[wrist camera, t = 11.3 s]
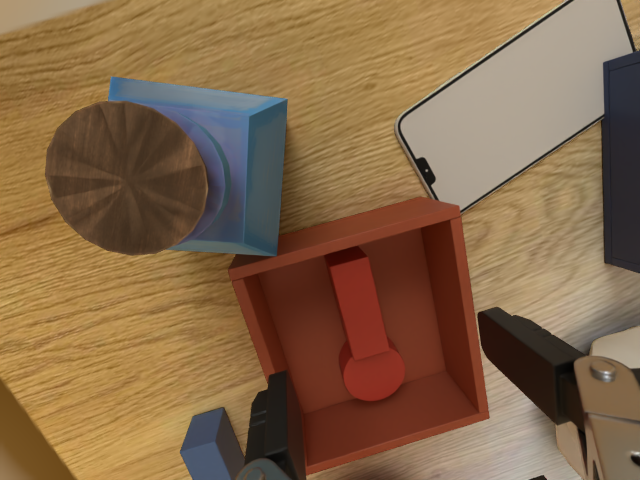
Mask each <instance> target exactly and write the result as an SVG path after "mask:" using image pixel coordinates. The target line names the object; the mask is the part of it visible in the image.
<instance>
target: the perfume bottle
mask: <svg viewBox="0 0 640 480" xmlns="http://www.w3.org/2000/svg"><path fill="white" fill-rule="evenodd" d="M286 122H287V99H284V98H276V97H268V96H260V95H252V94H244V93H237V92H229V91H221V90H213V89H205V88H197V87H189V86H181V85H173V84H165V83H158V82H150V81H142V80H134V79H126V78H118V77H111V81H110V89H109V96H108V101H105V102H97V103H95V104H92V105H90V106H87V107H85V108H82V109H80V110H77V111H75V112H74V113H73V114H72V115H71V116H70V117H69V118H68V119H67V120H66V121H65V122H63V123H62V124H61V125H60V126H59V127H58V128H57V130H56V132H55V134H54V136H53V138H52V141H51V143H50V145H49V147H48V149H47V156H46V169H45V177H46V181H47V184H48V188H49V192H50V196H51V200H52V201H53V203H54V204H55V206H56V208H57V209H58V211H59V212H60V214H61V216H62V217H63V219H64V220H65V222H66V223H67V224H68V225H70V226H71V227H72V228H73V229H74V230H75V231H76V232H77V233H78V234H80V235H81V236H82V237H83V238H84V239H85V240H87V241H89V242H91V243H93V244H95V245H97V246H99V247H101V248H103V249H105V250H107V251H112V252H117V253H122V254H127V255H132V256H133V255H145V254H156V253H158V252H161V251H163V250H165V249H166V250H182V251H198V252H214V253H230V254H246V255H262V256H277V247H278V236H279V223H280V209H281V195H282V180H283V166H284V151H285V137H286Z"/></svg>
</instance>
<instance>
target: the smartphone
mask: <svg viewBox="0 0 640 480" xmlns="http://www.w3.org/2000/svg"><path fill="white" fill-rule="evenodd" d="M556 8H557V9H556ZM543 17H544V18H543ZM527 28H528V29H527ZM514 37H515V38H514ZM498 48H499V49H498ZM633 52H636V48H635V45H634V42H633V39H632V35H631V32H630V29H629V26H628V23H627V20H626V16H625V13H624V10H623V7H622V4H621V1H620V0H565V1H564V2H562V3H561V4H559V5H558V6H556V7H555V8H553V9H552V10H551V11H549V12H548V13H546V14H545V15H543V16H542V17H540V18H539V19H537V20H536V21H535V22H533V23H532V24H530V25H529V26H527V27H526V28H524V29H523V30H521V31H520V32H519V33H517V34H516V35H514V36H513V37H511V38H510V39H508V40H507V41H505V42H504V43H503V44H501V45H500V46H498V47H497V48H495V49H494V50H492V51H491V52H490V53H488V54H487V55H485V56H484V57H482V58H481V59H479V60H478V61H476V62H475V63H474V64H472V65H471V66H469V67H468V68H466V69H465V70H463V71H462V72H459V73H458V74H456V75H455V76H454V77H452V78H451V79H449V80H448V81H446V82H445V83H443V84H442V85H440V86H439V87H438V88H437V89H436V90H434V91H433V92H431V93H430V94H429V95H427V96H426V97H424V98H423V99H421V100H420V101H418V102H417V103H415V104H414V105H413V106H411V107H410V108H408V109H407V110H405V111H404V112H403V113H401V114H400V115H399V116H398V118H397V119H396V121H395V125H394V132H395V135H396V137H397V139H398V141H399V143H400V145H401V146H402V148H403V150H404V152H405V154H406V155H407V157H408V159H409V161H410V163H411V164H412V166H413V168H414V170H415V172H416V173H417V175H418V177H419V179H420V180H421V182H422V184H423V186H424V188H425V189H426V191H427V193H428V195H429V197H430V198H431V199H433V200H437V201H442V202H446V203H451V204H455V205H459V206H460V213H461V214H462V213H464V212H465V211H467V210H468V209H470V208H471V207H473V206H474V205H476V204H477V203H479V202H480V201H482V200H483V199H485V198H486V197H487V196H489V195H490V194H492V193H493V192H495V191H496V190H498V189H499V188H501V187H502V186H504V185H505V184H507V183H508V182H510V181H511V180H513V179H514V178H516V177H517V176H519V175H520V174H522V173H523V172H525V171H526V170H528V169H529V168H531V167H532V166H533V165H535V164H536V163H538V162H539V161H541V160H542V159H544V158H545V157H547V156H548V155H550V154H551V153H553V152H554V151H556V150H557V149H559V148H560V147H562V146H563V145H565V144H566V143H568V142H569V141H571V140H572V139H574V138H575V137H577V136H578V135H579V134H581V133H582V132H584V131H585V130H587V129H588V128H590V127H591V126H593V125H594V124H596V123H597V122H599V121H600V120H602V119H603V118H604V84H603V62H605V61H608V60H611V59H615V58H618V57H621V56H624V55H627V54H630V53H633ZM485 57H486V58H485ZM482 59H483V60H482ZM469 68H470V69H469ZM456 77H457V78H456ZM453 79H454V80H453ZM440 88H441V89H440ZM427 97H428V98H427ZM424 99H425V100H424ZM411 108H412V109H411ZM408 110H409V111H408Z"/></svg>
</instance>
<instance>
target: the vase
mask: <svg viewBox="0 0 640 480" xmlns="http://www.w3.org/2000/svg"><path fill="white" fill-rule="evenodd" d="M588 356H602V357H607V358H611V359H614V360H616V361H619V362H621V363H623V364H624V365H626V366H627V367H628V368H640V326H635V327H631V328H629V329H628V330H625V331H621V332H617V333H614V334H610V335H607V336H603V337H600V338H598V339H595V340H594V341H593V342H592V344H591V348H590V352H589V355H588ZM555 429H556V438H557V447H558V449H559V451H560V452H561V454H562V455H563V456H564V458H565V459H566V460H567V462H568V463H569V464H570V466H571V467H572V468H573V469H574V470H575V471H576V472H577V473H578V474H579V475H580V476H581V477H582V479H583V480H585V475H584V470H583V465H582V459H581V454H580V449H579V444H578V439H577V431H576V425H575V424H573V423H572V422H571V421H570V422H567V423H564V424H561V425H558V426H557V425H556V424H555Z"/></svg>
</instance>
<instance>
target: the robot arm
mask: <svg viewBox="0 0 640 480" xmlns="http://www.w3.org/2000/svg"><path fill="white" fill-rule="evenodd" d="M477 317H478V325H479V333H480V340H481V346H482V349H483V351H484V353H485V355H486V357H487V358H488V359H489V360H490V361H491V362H492V363H493V364H494V365H495V366H496V367H497V368H498V369H499V370H500V371H501V372H502V373H503V374H504V375H505V376H506V377H507V378H508V379H509V380H510V381H511V382H512V383H513V384H515V385H516V386H517V387H518V388H519V389H520V390H521V391H522V392H523V393H524V394H525V395H526V396H527V397H528V398H529V399H530V400H531V401H532V402H533V403H534V404H535V405H536V406H537V407H539V408H540V409H541V410H542V411H543V412H544V413H545V414H546V415H547V416H548V417H549V418H550V419H551V420H552V421H553V422H554V423H555V424H556V425H557V426H558V425H561V424H564V423H567V422H570V421H571V422H572V423H573V424H575V425H576V431H577V439H578V444H579V449H580V454H581V459H582V465H583V470H584V475H585V480H640V368H628V367H627V366H626V365H624V364H623V363H621V362H619V361H616V360H614V359H611V358H607V357H602V356H586V355H584V354H583V353H581V352H580V351H578V350H577V349H575V348H573V347H572V346H570V345H569V344H567V343H566V342H564V341H562V340H561V339H559V338H558V337H556V336H555V335H551V333H550V332H548V331H547V330H545V329H542V327H540V326H539V325H537V324H536V323H534V322H533V321H531V320H529V319H526V318H523V317H520V316H517V315H514V316H511V315H510V314H508V313H507V312H505V311H504V310H502V309H501V308H499V307H495V308H491V309H488V310H485V311H481V312H479V313H478V316H477ZM250 416H251V418H250V423H249V427H250V428H249V431H248V439H247V447H246V455H245V463H244V467H243V468H242V469H241V470H240V471H239V473H238V474H237V476H236V477H235V479H234V480H306V468H305V455H304V442H303V429H302V417H301V410H300V406H299V402H298V399H297V396H296V393H295V390H294V387H293V384H292V381H291V378H290V375H289V372H288V370H284V371H280V372H277V373H274V374H270V375H269V377H268V390H264V391H261V392H258V394H257V396H256V397H255V399H254V401H253V403H252V407H251V415H250ZM530 480H547V479H546V478H545V477H544V475H542V476H539V477H536V478H533V479H530Z"/></svg>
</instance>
